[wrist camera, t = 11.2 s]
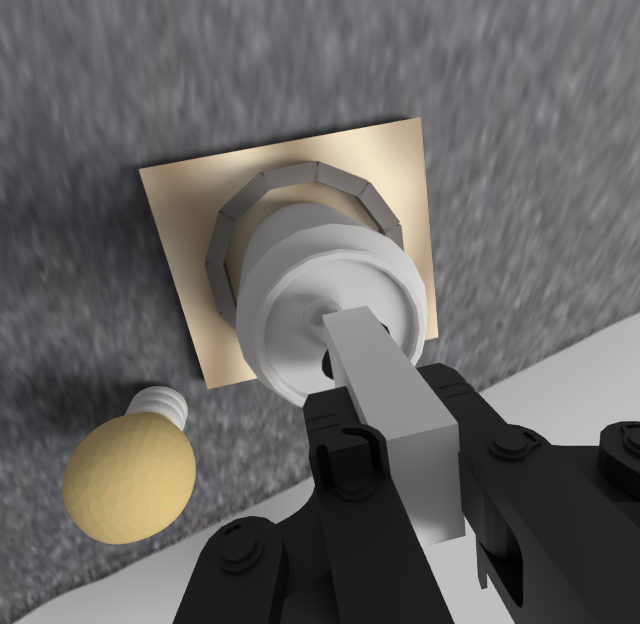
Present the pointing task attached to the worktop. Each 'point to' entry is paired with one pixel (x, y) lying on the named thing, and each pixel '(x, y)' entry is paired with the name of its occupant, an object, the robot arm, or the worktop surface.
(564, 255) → the worktop surface
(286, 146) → the board
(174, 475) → the light bulb
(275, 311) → the can
